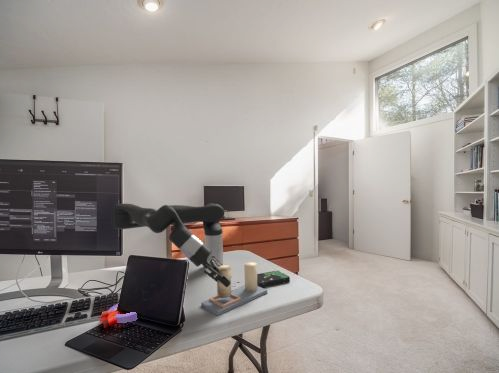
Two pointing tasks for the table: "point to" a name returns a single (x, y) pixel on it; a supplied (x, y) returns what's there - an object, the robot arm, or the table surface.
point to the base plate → (237, 293)
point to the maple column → (221, 289)
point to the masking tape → (124, 316)
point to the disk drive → (271, 279)
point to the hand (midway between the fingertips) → (229, 281)
